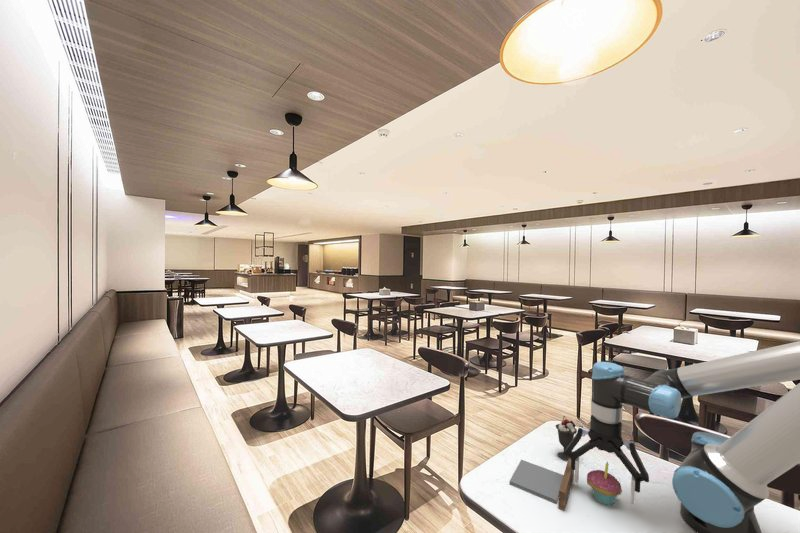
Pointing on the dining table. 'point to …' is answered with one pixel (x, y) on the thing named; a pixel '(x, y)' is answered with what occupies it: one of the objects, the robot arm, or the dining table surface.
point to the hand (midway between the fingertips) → (603, 490)
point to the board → (537, 480)
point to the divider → (565, 486)
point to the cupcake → (604, 485)
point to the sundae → (565, 436)
